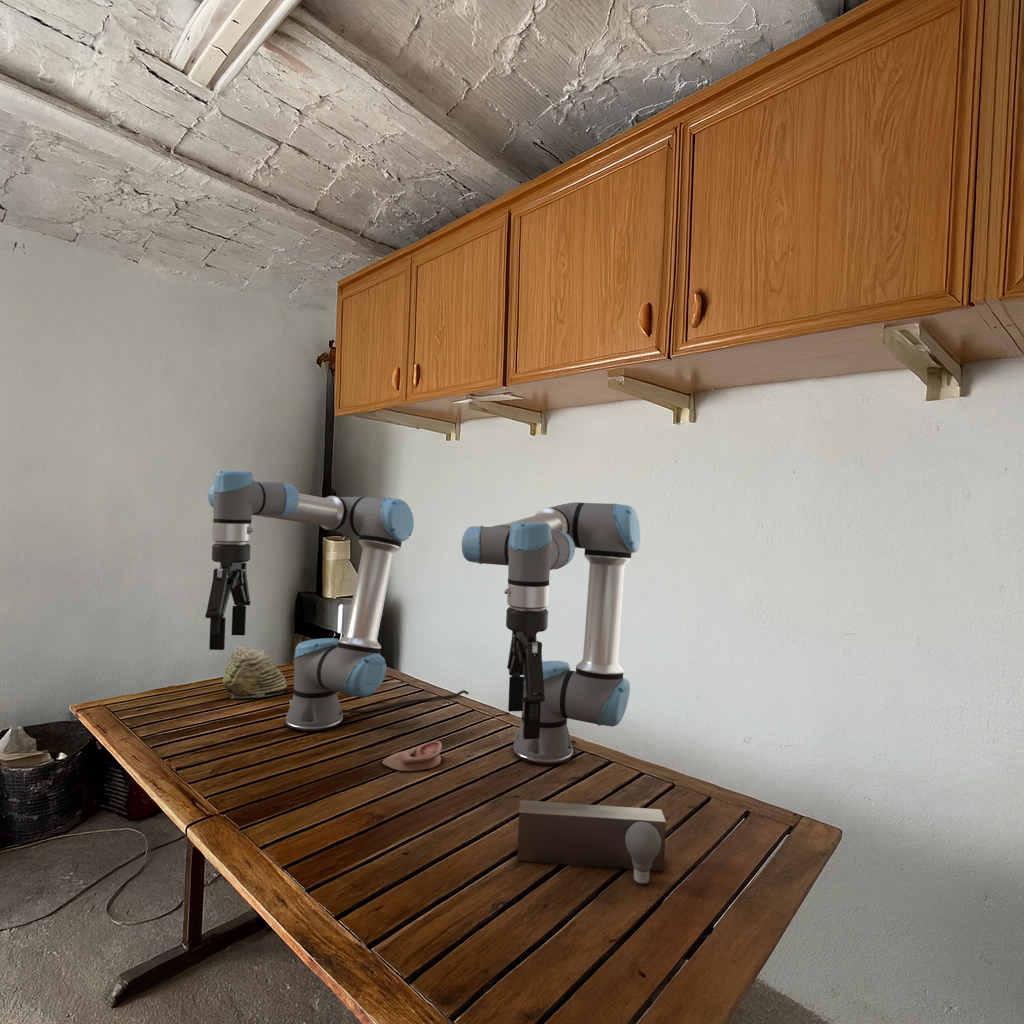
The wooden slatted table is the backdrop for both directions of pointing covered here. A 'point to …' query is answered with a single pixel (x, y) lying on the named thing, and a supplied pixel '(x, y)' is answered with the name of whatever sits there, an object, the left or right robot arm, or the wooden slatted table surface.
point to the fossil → (252, 674)
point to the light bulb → (642, 848)
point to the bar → (583, 834)
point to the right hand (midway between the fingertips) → (522, 723)
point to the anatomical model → (416, 757)
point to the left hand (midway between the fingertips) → (228, 642)
